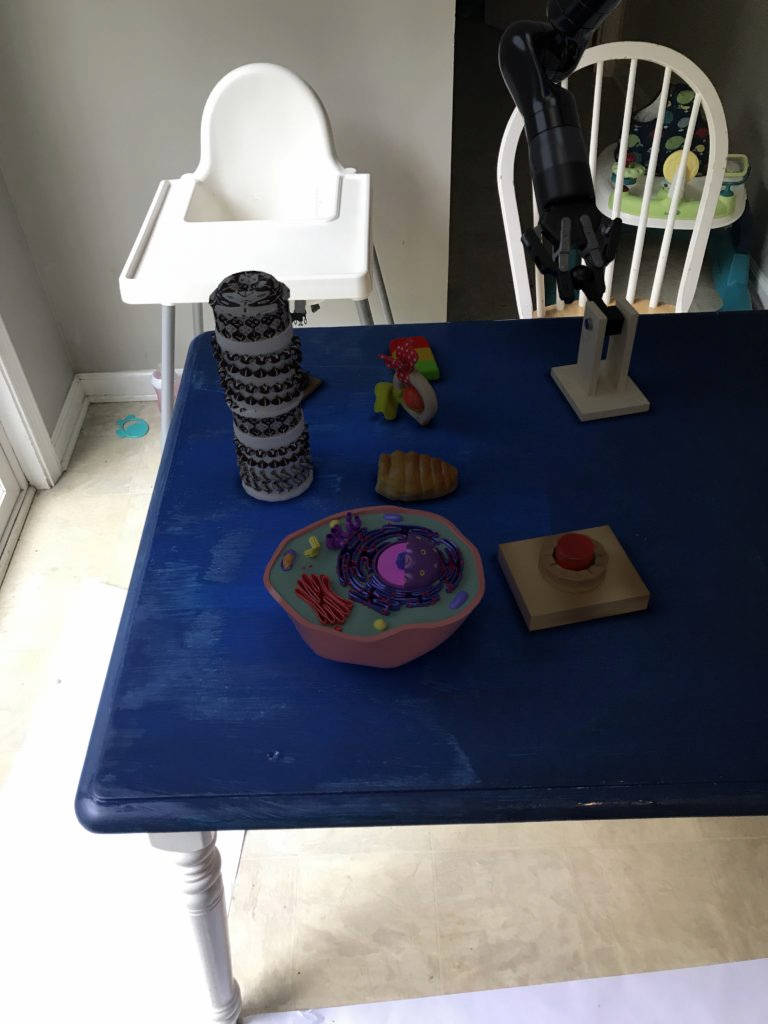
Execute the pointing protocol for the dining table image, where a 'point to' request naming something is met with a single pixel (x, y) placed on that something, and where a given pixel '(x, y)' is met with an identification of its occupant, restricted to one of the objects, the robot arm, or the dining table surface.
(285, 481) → the decorative candle
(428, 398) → the bird rattle
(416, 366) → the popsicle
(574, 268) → the lever
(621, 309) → the bracket
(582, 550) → the button
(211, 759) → the dining table surface
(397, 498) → the pastry
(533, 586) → the button block
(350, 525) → the cell model
